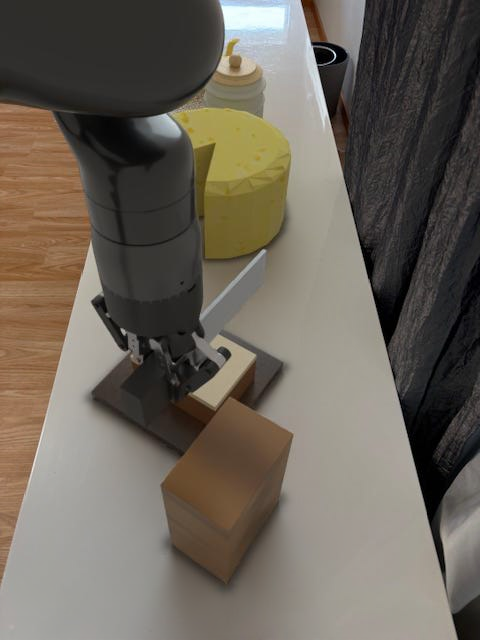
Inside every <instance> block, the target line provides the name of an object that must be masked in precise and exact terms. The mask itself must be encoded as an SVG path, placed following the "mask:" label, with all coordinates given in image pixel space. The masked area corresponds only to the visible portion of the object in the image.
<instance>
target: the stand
mask: <svg viewBox="0 0 480 640" xmlns="http://www.w3.org/2000/svg"><path fill="white" fill-rule="evenodd" d="M294 435H295V434H294V433H293V432H291V431H289V430H288V429H286V428H285V427H283V426H281V425H279V424H277V423H276V422H274V421H272V420H271V419H269V418H267V417H266V416H264V415H262V414H261V413H258V412H257V411H255V410H253V408H252V409H250V408H248V407H247V406H245V405H243V404H242V403H240V402H238V401H237V400H235V399H233V398H231V397H229V398H228V399H227V400H226V402H225V403H224V404H223V406H222V407H221V408H220V409H219V411H218V412H217V413H216V415H215V416H214V417H213V418H212V420H211V421H210V422H209V423H208V425H207V426H206V427H205V429H204V430H203V431H202V432H201V434H200V435H199V436H198V437H197V439H196V440H195V441H194V443H193V444H192V445H191V446H190V448H189V449H188V450H187V451H186V453H185V454H184V455H183V456H181V458H180V459H179V460H178V462H177V463H176V464H175V465H174V467H173V468H172V469H171V470H170V472H169V473H168V474H167V475H166V477H165V478H164V479H163V480H162V482H161V483H160V484H159V485H160V486H159V487H160V491H161V495H162V501H163V507H164V510H165V517H166V521H167V527H168V532H169V537H170V542H171V545H172V546H173V547H174V548H176V549H177V550H179V551H180V552H182V553H183V554H184V555H186V556H187V557H188V558H190V559H191V560H192V561H194V562H195V563H197V564H198V565H199V566H201V567H202V568H203V569H205V570H206V571H208V573H211V574H212V575H213V576H214V577H216V578H217V579H219V580H220V581H221V582H222V583H224V584H228V582H229V580H230V579H231V577H232V576H233V574H234V572H235V571H236V569H237V568H238V566H239V565H240V563H241V562H242V560H243V558H244V557H245V555H246V553H247V552H248V550H249V548H250V547H251V545H252V543H253V542H254V541H255V539H256V537H257V536H258V534H259V533H260V531H261V529H262V528H263V527H264V526H265V523H266V522H267V520H268V518H269V516H270V515H271V514H272V512H273V511H274V509H275V507H276V506H277V504H278V502H279V501H280V496H281V492H282V487H283V483H284V479H285V478H284V477H285V474H286V470H287V465H288V461H289V456H290V452H291V449H292V443H293V439H294Z"/></svg>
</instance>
